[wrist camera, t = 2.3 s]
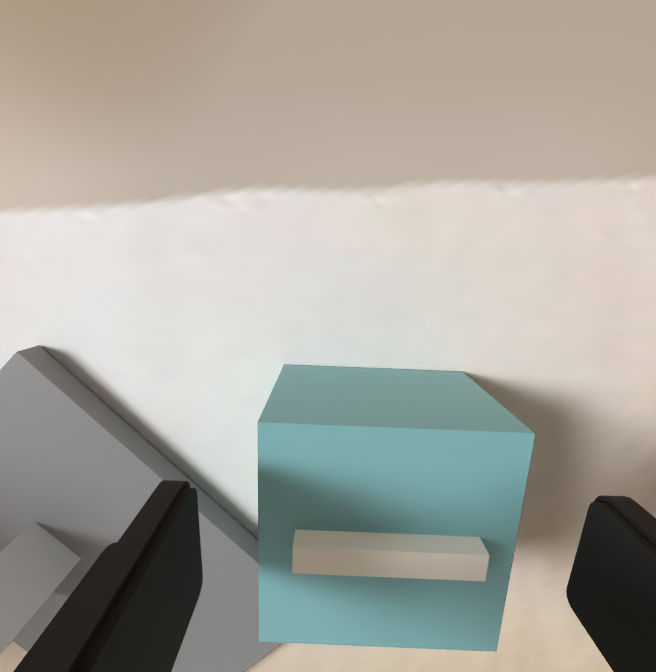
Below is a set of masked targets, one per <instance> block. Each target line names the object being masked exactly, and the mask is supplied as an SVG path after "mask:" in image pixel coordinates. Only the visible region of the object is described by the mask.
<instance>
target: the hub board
mask: <svg viewBox="0 0 656 672" xmlns="http://www.w3.org/2000/svg"><path fill="white" fill-rule="evenodd" d="M163 480H177V481H188V482H189V484H190V488H196V490H197V498H198V513H199V527H200V542H201V556H202V571H203V582H202V588H201V592H200V596H199V599H198V601H197V604H196V607H195V609H194V612H193V615H192V617H191V620H190V623H189V626H188V628H187V631H186V634H185V636H184V639H183V642H182V644H181V647H180V650H179V652H178V655H177V658H176V661H175V663H174V666H173V669H172V671H171V672H244V671H245V670H247V669H248V668H249V667H251V666H252V665H253V664H255V663H256V662H257V661H259V660H260V659H262V658H263V657H264V656H266V655H267V654H268V653H270V652H271V651H272V650H274V649H275V648H276V647H278V646H279V645H280V644H282V643H280V642H259V564H258V539H256V538H255V537H254V536H253V535H252V534H251V533H250V532H249V531H247V530H246V529H245V528H244V527H243V526H242V525H241V524H240V523H238V522H237V521H236V520H235V519H234V518H233V517H232V516H231V515H229V514H228V513H227V512H226V511H225V510H224V509H223V508H222V507H220V506H219V505H218V504H217V503H216V502H215V501H214V500H213V499H211V498H210V497H209V496H208V495H207V494H206V493H205V492H204V491H203V490H201V489H200V488H199V487H198V486H197V485H196V484H195V483H194V482H192V481H191V480H190V479H189V478H188V477H187V476H186V475H185V474H183V473H182V472H181V471H180V470H179V469H178V468H177V467H176V466H174V465H173V464H172V463H171V462H170V461H169V460H168V459H167V458H165V457H164V456H163V455H162V454H161V453H160V452H159V451H158V450H156V449H155V448H154V447H153V446H152V445H151V444H150V443H149V442H147V441H146V440H145V439H144V438H143V437H142V436H141V435H140V434H139V433H137V432H136V431H135V430H134V429H133V428H132V427H131V426H130V425H128V424H127V423H126V422H125V421H124V420H123V419H122V418H121V417H119V416H118V415H117V414H116V413H115V412H114V411H113V410H112V409H110V408H109V407H108V406H107V405H106V404H105V403H104V402H103V401H101V400H100V399H99V398H98V397H97V396H96V395H95V394H94V393H92V392H91V391H90V390H89V389H88V388H87V387H86V386H85V385H83V384H82V383H81V382H80V381H79V380H78V379H77V378H76V377H75V376H73V375H72V374H71V373H70V372H69V371H68V370H67V369H66V368H64V367H63V366H62V365H61V364H60V363H59V362H58V361H57V360H55V359H54V358H53V357H52V356H51V355H50V354H49V353H48V352H46V351H45V350H44V349H43V348H42V347H41V346H40V345H39V346H36V347H32V348H29V349H25V350H22V351H18V352H16V353H15V355H14V356H13V357H12V358H11V359H10V360H9V361H8V362H7V363H6V364H5V366H4V367H3V368H2V369H1V370H0V654H1V653H2V652H3V651H4V649H5V648H6V647H7V646H8V645H9V643H10V642H11V641H12V640H13V641H14V642H15V643H17V644H18V645H20V646H21V647H22V648H24V649H25V650H26V651H29V650H30V649H31V647H32V646H33V645H34V643H35V642H36V641H37V639H38V638H39V637H40V635H41V634H42V633H43V631H44V630H45V629H46V627H47V626H48V624H49V623H50V622H51V620H52V619H53V618H54V616H55V615H56V614H57V612H58V611H59V610H60V608H61V607H62V606H63V604H64V603H65V601H66V600H67V599H68V597H69V596H70V595H71V593H72V592H73V591H74V589H75V588H76V587H77V585H78V584H79V583H80V581H81V580H82V578H83V577H84V576H85V574H86V573H87V572H88V570H89V569H90V568H91V566H92V565H93V564H94V562H95V561H96V560H97V558H98V557H99V555H100V554H101V553H102V552H103V551H104V549H105V548H106V547H107V546H108V545H110V544H112V543H117V542H118V541H119V539H120V538H121V536H122V535H123V534H124V532H125V531H126V529H127V528H128V527H129V525H130V524H131V522H132V521H133V520H134V518H135V517H136V515H137V514H138V513H139V511H140V510H141V508H142V507H143V506H144V504H145V503H146V501H147V500H148V498H149V497H150V496H151V494H152V493H153V491H154V490H155V489H156V487H157V486H158V484H159V483H160V482H161V481H163Z"/></svg>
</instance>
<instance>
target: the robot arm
mask: <svg viewBox="0 0 656 672" xmlns="http://www.w3.org/2000/svg"><path fill="white" fill-rule="evenodd" d="M202 582H203V571H202V556H201V542H200V527H199V513H198V498H197V490H196V488H190V484H189V482H188V481H177V480H163V481H161V482H160V483H159V484H158V486H157V487H156V489H155V490H154V491H153V493H152V494H151V496H150V497H149V498H148V500H147V501H146V503H145V504H144V506H143V507H142V508H141V510H140V511H139V513H138V514H137V515H136V517H135V518H134V520H133V521H132V522H131V524H130V525H129V527H128V528H127V529H126V531H125V532H124V534H123V535H122V536H121V538H120V539H119V541H118V542H117V543H112V544H110V545H108V546H107V547H106V548H105V549H104V551H103V552H102V553H101V554H100V555H99V557H98V558H97V560H96V561H95V562H94V564H93V565H92V566H91V568H90V569H89V570H88V572H87V573H86V574H85V576H84V577H83V578H82V580H81V581H80V583H79V584H78V585H77V587H76V588H75V589H74V591H73V592H72V593H71V595H70V596H69V597H68V599H67V600H66V601H65V603H64V604H63V606H62V607H61V608H60V610H59V611H58V612H57V614H56V615H55V616H54V618H53V619H52V620H51V622H50V623H49V624H48V626H47V627H46V629H45V630H44V631H43V633H42V634H41V635H40V637H39V638H38V639H37V641H36V642H35V643H34V645H33V646H32V647H31V649H30V650H29V651H28V653H27V654H26V656H25V657H24V658H23V660H22V661H21V662H20V664H19V665H18V666H17V668H16V669H15V670H14V672H171V671H172V669H173V666H174V663H175V661H176V658H177V655H178V652H179V650H180V647H181V644H182V642H183V639H184V636H185V634H186V631H187V628H188V626H189V623H190V620H191V617H192V615H193V612H194V609H195V607H196V604H197V601H198V599H199V596H200V592H201V588H202ZM567 598H568V602H569V604H570V606H571V608H572V610H573V611H574V613H575V614H576V616H577V617H578V619H579V620H580V622H581V623H582V625H583V626H584V628H585V629H586V631H587V632H588V634H589V635H590V637H591V638H592V640H593V641H594V643H595V644H596V646H597V647H598V649H599V650H600V652H601V653H602V655H603V656H604V658H605V659H606V661H607V663H608V664H609V666H610V667H611V669H612V670H613V672H656V519H655V518H654V517H653V516H652V515H651V514H650V513H648V512H647V511H646V510H645V509H644V508H642V507H641V506H640V505H639V504H638V503H636V502H635V501H634V500H632V499H631V498H629V497H625V496H598V497H597V498H596V499H595V501H594V502H592V503H591V504H590V506H589V509H588V512H587V516H586V520H585V523H584V527H583V531H582V534H581V538H580V542H579V545H578V549H577V553H576V556H575V560H574V564H573V567H572V571H571V575H570V578H569V582H568V586H567Z"/></svg>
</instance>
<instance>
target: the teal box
mask: <svg viewBox="0 0 656 672" xmlns="http://www.w3.org/2000/svg"><path fill="white" fill-rule="evenodd" d="M534 438H535V433H534V432H533V431H532V430H531V429H530V428H528V427H527V426H526V425H525V424H524V423H523V422H521V421H520V420H519V419H518V418H517V417H515V416H514V415H513V414H512V413H511V412H510V411H508V410H507V409H506V408H505V407H504V406H502V405H501V404H500V403H499V402H498V401H497V400H495V399H494V398H493V397H492V396H491V395H490V394H488V393H487V392H486V391H485V390H484V389H482V388H481V387H480V386H479V385H478V384H477V383H475V382H474V381H473V380H472V379H471V378H469V377H468V376H467V375H466V374H465V373H464V372H460V371H435V370H410V369H384V368H359V367H334V366H309V365H284V366H283V368H282V371H281V373H280V375H279V377H278V379H277V381H276V384H275V386H274V388H273V390H272V392H271V395H270V397H269V399H268V401H267V403H266V405H265V408H264V410H263V412H262V414H261V416H260V418H259V421H258V564H259V642H280V643H304V644H328V645H352V646H376V647H399V648H423V649H447V650H471V651H495V652H496V651H497V645H498V640H499V634H500V629H501V623H502V617H503V612H504V606H505V601H506V595H507V589H508V584H509V578H510V573H511V567H512V561H513V556H514V550H515V545H516V539H517V533H518V528H519V522H520V517H521V511H522V505H523V500H524V494H525V489H526V483H527V477H528V472H529V466H530V461H531V455H532V449H533V444H534Z"/></svg>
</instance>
